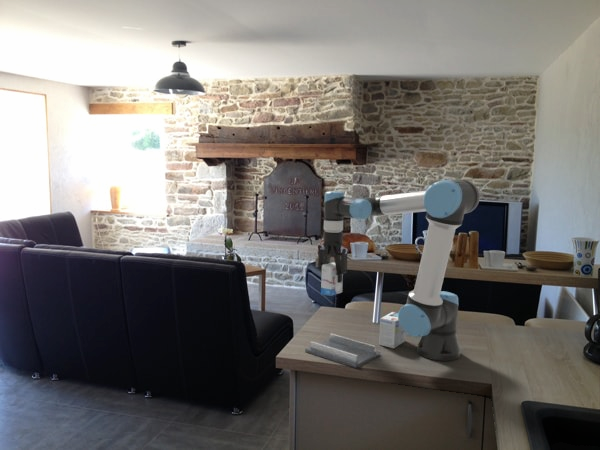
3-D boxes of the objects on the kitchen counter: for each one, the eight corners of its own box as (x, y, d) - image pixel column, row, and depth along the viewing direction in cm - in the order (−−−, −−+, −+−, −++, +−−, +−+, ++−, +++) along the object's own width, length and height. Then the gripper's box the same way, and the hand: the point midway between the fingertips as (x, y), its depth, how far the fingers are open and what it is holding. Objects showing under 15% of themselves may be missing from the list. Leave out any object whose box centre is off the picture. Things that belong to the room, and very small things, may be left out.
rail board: (380, 354, 190) (380, 345, 190) (355, 368, 178) (356, 358, 178) (331, 340, 204) (331, 331, 204) (305, 351, 192) (305, 342, 192)
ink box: (330, 296, 204) (331, 266, 203) (320, 294, 207) (320, 264, 206) (343, 292, 211) (343, 263, 210) (332, 290, 214) (333, 261, 213)
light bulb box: (390, 337, 209) (391, 311, 208) (406, 341, 205) (407, 314, 204) (378, 345, 201) (379, 317, 199) (394, 349, 197) (395, 321, 195)
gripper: (358, 232, 203) (356, 291, 206) (320, 227, 215) (319, 283, 218) (346, 234, 197) (345, 294, 201) (309, 229, 209) (308, 286, 212)
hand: (331, 288), depth 209 cm, fingers closed on ink box, 5 cm apart
